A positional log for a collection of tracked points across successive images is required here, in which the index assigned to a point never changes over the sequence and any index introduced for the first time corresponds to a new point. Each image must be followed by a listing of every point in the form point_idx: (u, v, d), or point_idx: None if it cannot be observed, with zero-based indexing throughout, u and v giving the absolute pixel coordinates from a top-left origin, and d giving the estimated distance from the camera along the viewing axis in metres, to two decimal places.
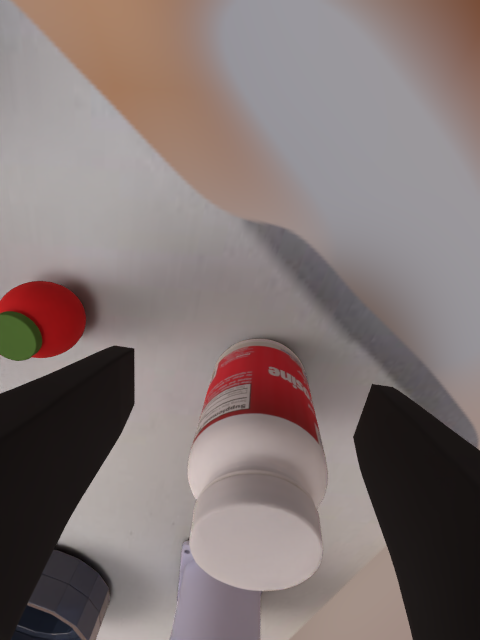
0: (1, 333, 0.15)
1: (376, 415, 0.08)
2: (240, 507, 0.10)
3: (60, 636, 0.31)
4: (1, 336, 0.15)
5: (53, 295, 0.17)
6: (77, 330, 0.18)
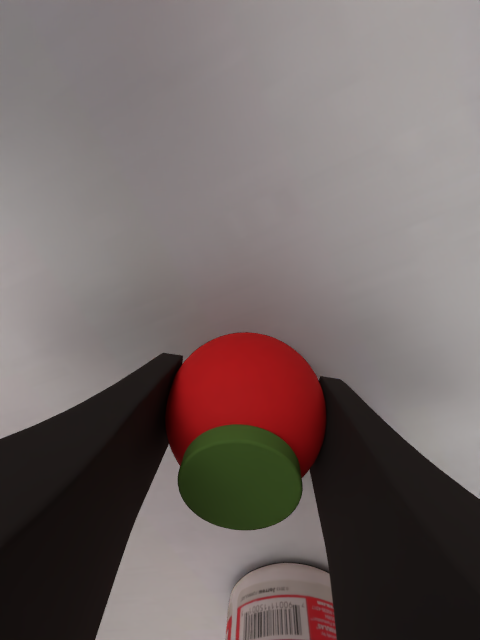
0: (241, 473, 0.06)
1: None
2: None
3: None
4: (231, 473, 0.06)
5: None
6: None
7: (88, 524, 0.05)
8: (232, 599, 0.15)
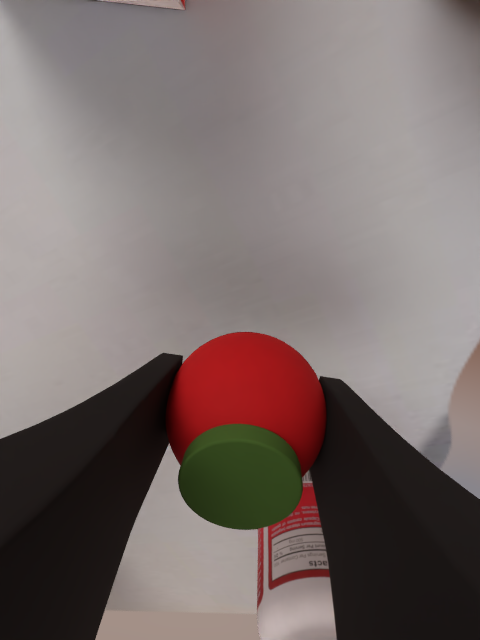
0: (241, 472, 0.06)
1: None
2: None
3: None
4: (232, 472, 0.06)
5: None
6: None
7: (88, 525, 0.05)
8: None
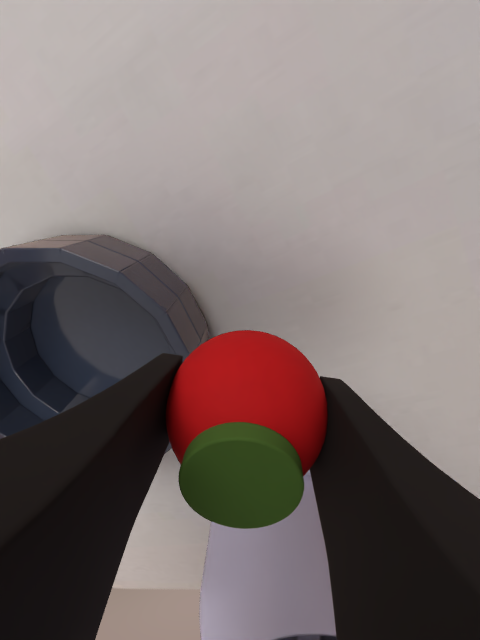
0: (242, 471, 0.06)
1: None
2: None
3: (42, 409, 0.18)
4: (233, 471, 0.06)
5: None
6: None
7: (88, 525, 0.05)
8: None
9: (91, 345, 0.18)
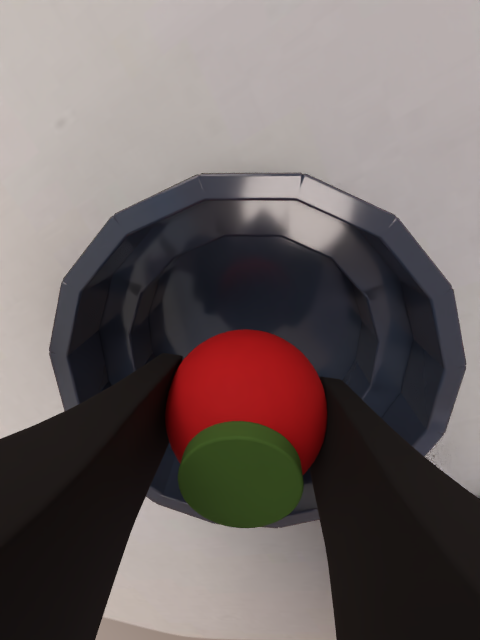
0: (241, 470, 0.06)
1: None
2: None
3: None
4: (232, 470, 0.06)
5: None
6: None
7: (88, 525, 0.05)
8: None
9: None
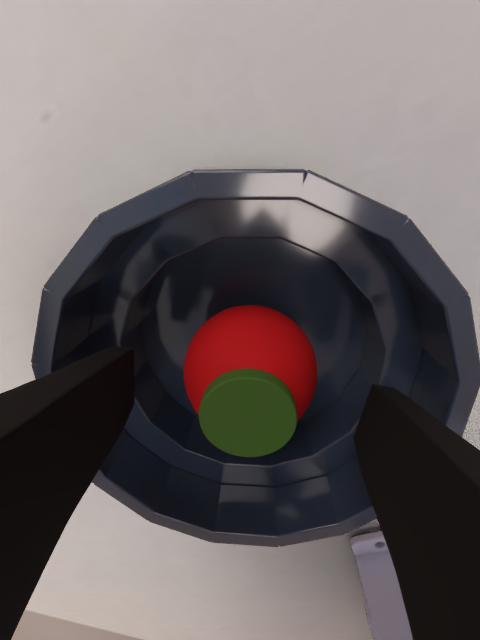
0: (249, 405, 0.08)
1: (376, 415, 0.08)
2: None
3: (159, 442, 0.12)
4: (242, 406, 0.08)
5: (314, 389, 0.10)
6: None
7: None
8: None
9: None
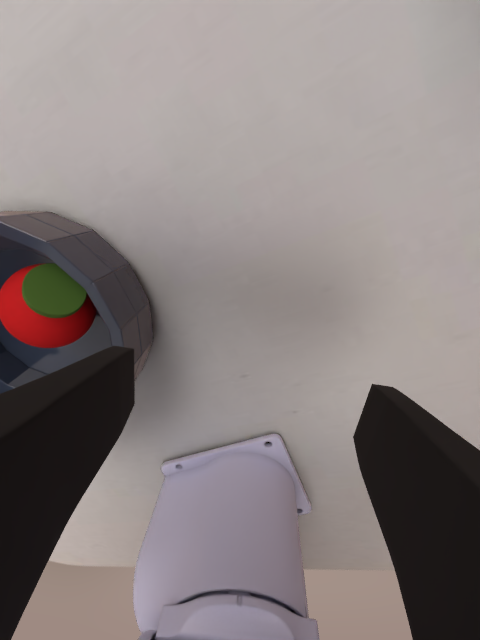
0: (57, 279, 0.14)
1: (376, 415, 0.08)
2: None
3: None
4: (52, 279, 0.14)
5: (96, 309, 0.17)
6: (67, 342, 0.16)
7: None
8: None
9: None
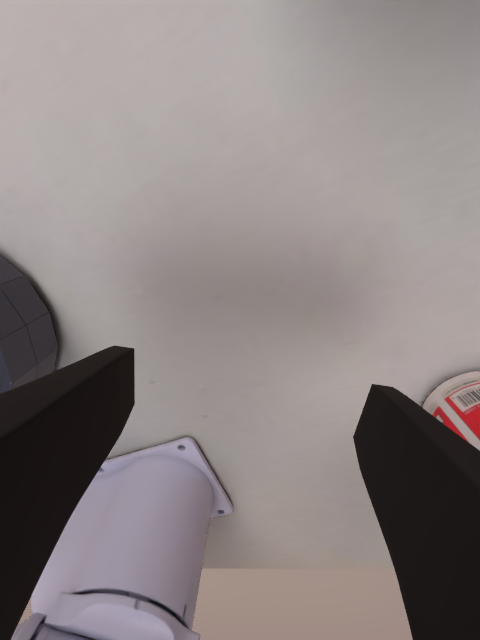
0: None
1: (376, 415, 0.08)
2: None
3: None
4: None
5: None
6: None
7: None
8: (432, 400, 0.19)
9: None
